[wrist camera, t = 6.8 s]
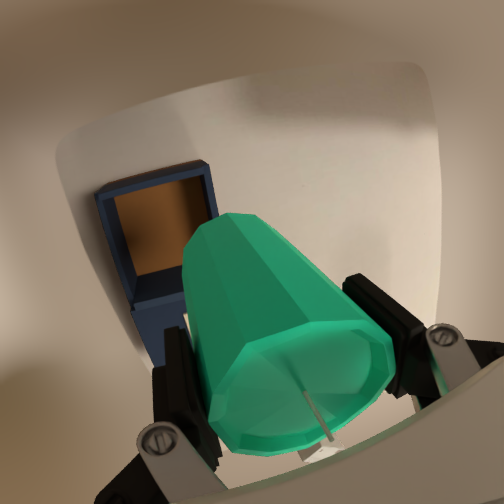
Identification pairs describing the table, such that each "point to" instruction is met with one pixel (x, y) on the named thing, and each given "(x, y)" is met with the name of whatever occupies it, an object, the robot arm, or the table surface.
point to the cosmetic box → (321, 450)
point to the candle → (276, 340)
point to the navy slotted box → (156, 242)
